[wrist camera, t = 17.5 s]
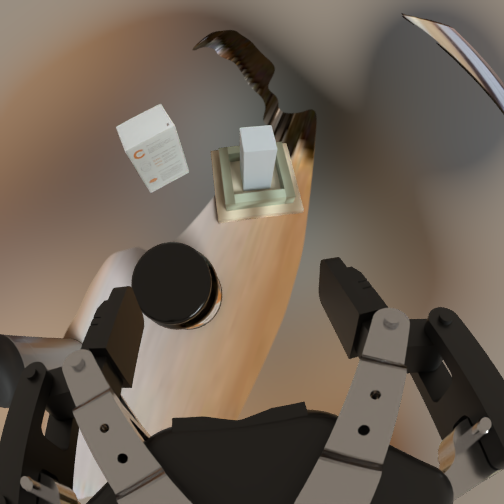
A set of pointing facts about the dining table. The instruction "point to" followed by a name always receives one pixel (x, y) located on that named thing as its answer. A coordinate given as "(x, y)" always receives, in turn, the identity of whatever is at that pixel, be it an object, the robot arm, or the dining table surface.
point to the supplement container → (176, 286)
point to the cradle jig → (256, 201)
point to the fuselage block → (257, 157)
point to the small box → (153, 147)
